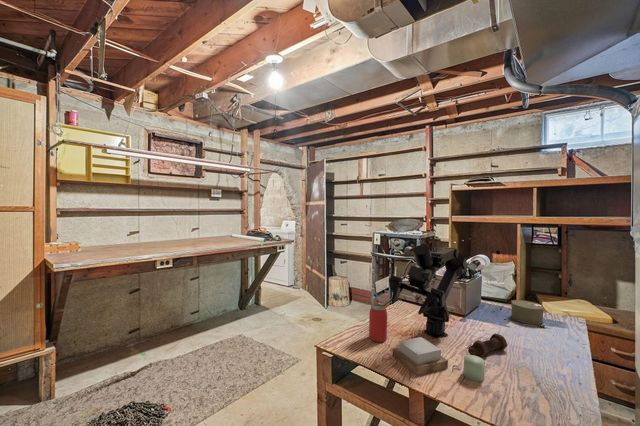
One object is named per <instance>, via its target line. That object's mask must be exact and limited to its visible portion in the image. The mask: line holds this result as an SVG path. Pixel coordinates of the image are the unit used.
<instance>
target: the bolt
mask: <svg viewBox="0 0 640 426" xmlns="http://www.w3.org/2000/svg"><path fill="white" fill-rule="evenodd" d="M507 347H508V342H507V340H506V338H505V337H504V336H503V335H501V334H499V333H496V332H494V333H493V334H492V335H491V336H490V338H489V339H488V340H484V341H481V340H475V341H474V342H473V344H472V345H469V346H468V347H467V349H468V350H467V352H468V353H469V355H474V356H479V357H485V356H486V355H488V353H489V352H490V351H494V350H498V351H500V352H502V351H504V350H506V348H507Z"/></svg>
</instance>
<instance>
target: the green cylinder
mask: <svg viewBox="0 0 640 426" xmlns="http://www.w3.org/2000/svg"><path fill="white" fill-rule="evenodd" d="M485 368H486V361H485V359H483V358H481V356H479V355H477V356H474V355H471V354H466V355H464V356H463V376H464V377H465V378H466V379H468V380H469V381H472V382H477V383H479V382H480V383H481V382H483V381H485V372H486V371H485V370H486V369H485Z"/></svg>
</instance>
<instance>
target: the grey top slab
mask: <svg viewBox="0 0 640 426" xmlns="http://www.w3.org/2000/svg"><path fill="white" fill-rule="evenodd" d="M398 347H399V350H400V351H401V352H402V353H403V354H405V355H406V356H407V357H409V358H410V359H411V360H412V361H414V362H415V363H416V364H422V363H426V362H430V361H435V360H439V359H441V356H442V349H440V348H439V347H438V346H436V345H434V344H433V343H431V342H430V341H428V340H427V339H426V338H423V337H421V336H420V337H414V338H410V339H405V340H399V344H398Z"/></svg>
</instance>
